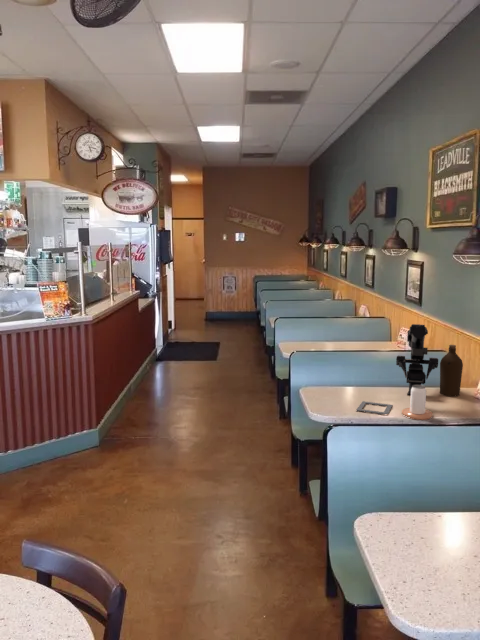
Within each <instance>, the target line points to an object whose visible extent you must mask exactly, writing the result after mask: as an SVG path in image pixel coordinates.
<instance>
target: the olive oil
mask: <svg viewBox="0 0 480 640" xmlns="http://www.w3.org/2000/svg"><path fill="white" fill-rule="evenodd" d="M463 366H464V363H463V360H462V358H461V357H460V356H459V355H458V354H457V345H456V344H449V345H448V351H447V353H446V354H445V355H444V356H443V357H442V358H441V360H440V361H439V394H440V395H442V396H446V397H459V396H460V394H461V385H462V376H463V375H462V374H463V369H464V367H463Z"/></svg>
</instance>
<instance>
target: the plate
mask: <svg viewBox="0 0 480 640" xmlns="http://www.w3.org/2000/svg"><path fill="white" fill-rule="evenodd" d="M402 414H403V415H405V416H407V417H410V418H412V419H411V420H416V421H417V420H418V421H425V420H430V418H431V417H432V418H433V415H434V414H433V412H432V411H431V410H428V409H426V408H425V413H424V414H422V415H417V414H413V413H411V412H410V407H406V408H403V409H402V410H401V415H402ZM403 415H402V416H403ZM405 416H404V417H405ZM407 417H406V418H407ZM410 418H409V419H410ZM432 418H431V419H432Z"/></svg>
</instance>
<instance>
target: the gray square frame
mask: <svg viewBox="0 0 480 640" xmlns="http://www.w3.org/2000/svg"><path fill="white" fill-rule="evenodd" d="M365 404H366V405H369V404H372V405H371V406H377V405H379V407H385V406H387V407H386V408H385V409H384V411H378V410H372V409H371V410H370V409H364V408H365V406H366V405H365ZM363 407H364V408H363ZM362 408H363V409H362ZM392 408H393V404H388V403H387V404H386V403H381V402H372V401H365V400H362V402H360V404H359V405H358V407H357V408H355V409H356V410H357V411H356V410H355V411H356V412H358V411H365V412H364V413H366V412H371V413H370V414H373V413H377V414H376V415H381V414H389V413H390V412H391V410H390V409H392ZM389 411H390V412H389Z"/></svg>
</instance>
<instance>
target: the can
mask: <svg viewBox="0 0 480 640" xmlns="http://www.w3.org/2000/svg"><path fill="white" fill-rule="evenodd" d="M426 401H427V389H426V386H425V385H424V384H421V385H413V386H412V388H411V395H410V403H409V408H410V412H411V413H413V414H417V415H422V414H424V413H425V409H426V405H427V402H426Z"/></svg>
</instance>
